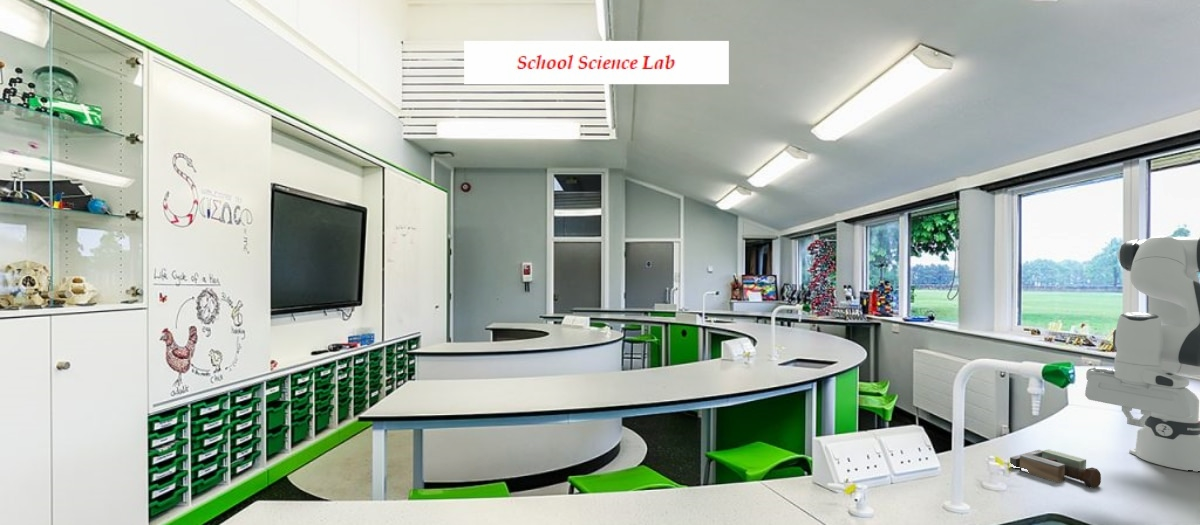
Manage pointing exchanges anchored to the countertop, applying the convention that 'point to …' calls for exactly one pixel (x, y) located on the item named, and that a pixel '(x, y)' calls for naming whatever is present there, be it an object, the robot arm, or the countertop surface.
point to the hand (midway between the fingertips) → (1135, 425)
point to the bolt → (1082, 474)
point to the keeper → (1047, 463)
